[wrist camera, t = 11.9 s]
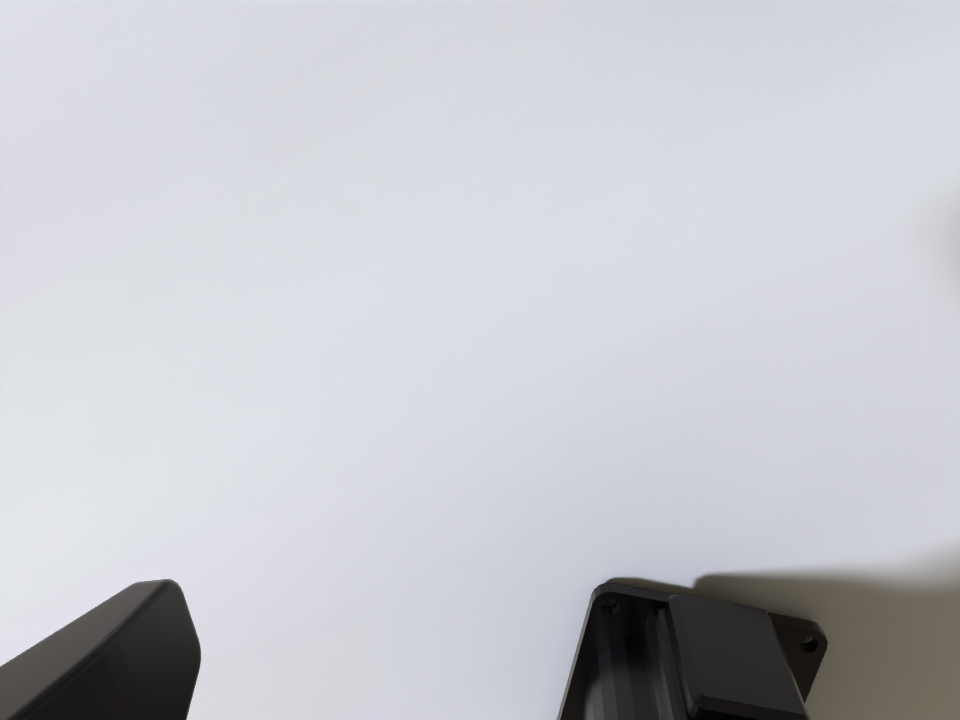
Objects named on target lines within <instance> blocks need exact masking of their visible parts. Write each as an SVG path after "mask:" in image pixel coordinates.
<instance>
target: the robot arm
mask: <svg viewBox="0 0 960 720" xmlns="http://www.w3.org/2000/svg"><path fill="white" fill-rule="evenodd" d="M607 599H613V600H615V601H617V603H616V604H614V605H612V606H606V605H604V604H602V603H603V602H604V601H606V600H607ZM807 637H812V638H813V639H812V640H811V641H810V642H807V643H801V641H802V639H805V638H807ZM827 644H828V642H827V639H826V637H825V634H824V632H823V630H822V628H821V627H820V626H819V625H818V624H817V623H815V622H812V621H809V620H803V619H798V618H793V617H788V616H782V615H777V614H772V613H767V612H766V611H765V610H763V609H758V608H753V607H748V606H743V605H737V604H732V603H727V602H722V601H717V600H711V599H706V598H701V597H696V596H690V595H685V594H675V595H673V594H668V593H662V592H657V591H652V590H647V589H641V588H636V587H631V586H626V585H621V584H615V583H605V584H602V585H599V586H598V587H597V588H595V589H594V591H593V593H592V595H591V598H590V602H589V605H588V609H587V613H586V616H585V620H584V624H583V627H582V631H581V634H580V638H579V642H578V645H577V649H576V652H575V656H574V660H573V663H572V667H571V671H570V674H569V678H568V681H567V685H566V689H565V692H564V696H563V700H562V703H561V707H560V710H559V714H558V718H557V720H811V719H810V716H809V714H808V711H807V709H806V706H805V704H804V703H805V701H806V699H807V696H808V694H809V691H810V689H811V686H812V684H813V681H814V679H815V676H816V674H817V671H818V669H819V666H820V664H821V662H822V659H823V657H824V654H825V652H826V649H827ZM200 663H201V649H200V643H199V639H198V636H197V633H196V630H195V627H194V624H193V621H192V618H191V615H190V612H189V609H188V606H187V603H186V600H185V597H184V594H183V592H182V590H181V587H180V586H179V585H178V583H176V582H175V581H173V580H171V579H163V580H154V581H144V582H138V583H134V584H132V585H130V586H129V587H127V588H126V589H124V590H122V591H121V592H119V593H118V594H116V595H114V596H113V597H111V598H110V599H108V600H106V601H105V602H103V603H102V604H100V605H98V606H97V607H95V608H94V609H92V610H90V611H89V612H87V613H85V614H84V615H82V616H81V617H79V618H77V619H76V620H74V621H73V622H71V623H69V624H68V625H66V626H65V627H63V628H61V629H60V630H58V631H57V632H55V633H53V634H52V635H50V636H49V637H47V638H45V639H44V640H42V641H41V642H39V643H37V644H36V645H34V646H33V647H31V648H29V649H28V650H26V651H25V652H23V653H21V654H20V655H18V656H17V657H15V658H13V659H12V660H10V661H9V662H7V663H5V664H4V665H2V666H1V667H0V720H186V719H187V715H188V711H189V707H190V704H191V700H192V696H193V692H194V688H195V684H196V681H197V677H198V673H199V669H200Z"/></svg>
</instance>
